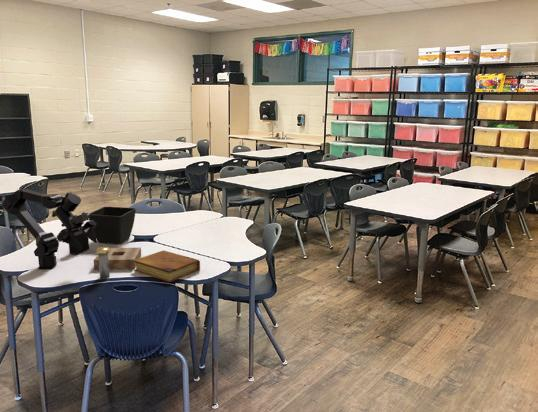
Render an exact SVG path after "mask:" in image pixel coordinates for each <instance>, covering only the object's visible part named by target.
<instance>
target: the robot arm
mask: <svg viewBox="0 0 538 412" xmlns="http://www.w3.org/2000/svg"><path fill="white" fill-rule="evenodd" d="M28 201H30V202H33V203H38V204H41V206H42V207H43V208H45V209H48V210H52V209H55V210H52V213H51V217H52V218H55V217H57V219H58V220H59V222H61V227H62V228H63V229H61V230H60V231H59V233H57V235H55V234H54V232H52V231H51V232H47V231H45V230H44V229H43V228H42V227H41V226H40V224H39V223H38V222H37V221H36V220H35V218H34V217H33V216H32V214H30V213H29V212H28V210H27V204H26V202H28ZM81 202H82V199H81V197H80V196H79V195H77V194H75V193H72V192H71V191H69V192H66V194H65V195H64V196H62V194H60V193H48V194H47V193H42V192H38V191H35V190H31V189H28V188H19V189H17V190H15V191H14V192H13V193H12V194H11V195H9V196H8V197H6V198H4V199H3V201H2V204H1V206H2V208H3V210H4V211H6V212H7V213H8V214H10V215H12V216H15V217H16V218H17V219H18V220H19V221H20V222H21V224H22V225H23V226H24V227H25V229H26V230H27V231H28V232H29V233H30V235H31V236H32V237H33V238H34V240H35V245H36V248H35V249H34V251H33V254H34V256H35V257H38V259H37V260H38V267H37V270H49V269H50V270H53V269H54V268H55V267H56V266H57V265H58V263H57V256H56V254H55V253H58V252H59V251H58V250H59V246H60V242H62V243H64V244H65V243H66V244H68V245H69V244H70V245H72V246H75V247H77V248H79V249H81V248H82V246H81V245H80V243H79V242H78V241H77V239H76V238H75V235H74V233H77V232H80V231H82V232H83V233H85V234H84V235H86V236H87V237H88V238H89V241H91V242H92V243H94V244H98V241H97V239H96V236H95V233H94V228H95V225H96V222H95V221H93V220H91V221H89V218H90V214H89V213H90V212H89V211H87V210H85V211H83V212H81V214H79V215H78V214H74V213H73V212H74V211H76V209H77V208H78V206H79V205H80V204H81ZM64 227H65V228H64Z"/></svg>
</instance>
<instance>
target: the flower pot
mask: <svg viewBox="0 0 538 412" xmlns="http://www.w3.org/2000/svg"><path fill="white" fill-rule="evenodd" d="M136 211H137V208H135V207H119V206H103V207H101V208H98V209H96V210H95V211H92V212H88V213H89V214H90V218H89V220H88V221H91V220H93V221H95V222H96V225H95V228H94V233H95V236H96V239H97V243H99V244H109V245H110V244H112V245H120V244H122V243H124V242H126V241H127V240H129V239H130V238H131V235H132V231H133V228H134V224H135V217H136Z"/></svg>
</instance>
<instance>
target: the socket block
mask: <svg viewBox="0 0 538 412" xmlns="http://www.w3.org/2000/svg"><path fill="white" fill-rule="evenodd" d="M109 250H110V252H109V253H108V257H109V270H135V269H136V263H135V262H134V260H136V259H139V258H142V247H109ZM93 270H95V271H96V270H99V256H98V254H97V255H96V256H95V258H94V259H93Z"/></svg>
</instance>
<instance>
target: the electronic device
mask: <svg viewBox="0 0 538 412" xmlns="http://www.w3.org/2000/svg"><path fill="white" fill-rule="evenodd" d="M84 234H85V233H83V232H82V231H80V232H77V233H74V235H75V238H76V239H77V241H78V242H79V243H80V245H81V246H82V248H81V249H79V248H77V247H75V246H72V245H70V244H68V251H69V254H70V255H76V256H77V255H80V254H83V253H85V252H86V251H88V250H89V249H90V242H89V241H90V239H89V238H88V237H87V236H86V235H84Z"/></svg>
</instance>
